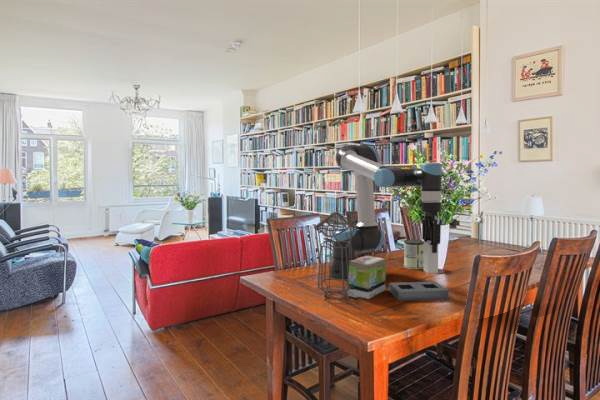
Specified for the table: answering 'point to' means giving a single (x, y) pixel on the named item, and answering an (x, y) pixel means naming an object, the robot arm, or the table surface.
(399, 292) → the block
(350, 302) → the table surface
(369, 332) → the table surface
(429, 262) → the plug
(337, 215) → the geometric lantern
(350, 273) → the tea box
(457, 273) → the table surface
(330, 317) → the table surface
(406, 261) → the coffee can
